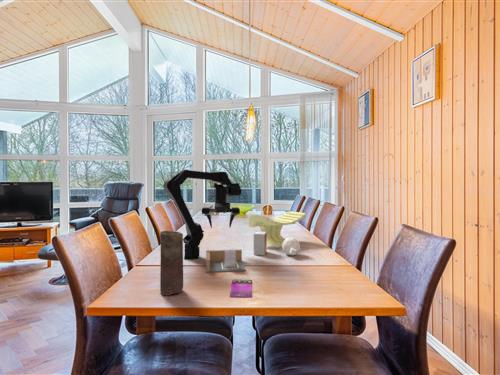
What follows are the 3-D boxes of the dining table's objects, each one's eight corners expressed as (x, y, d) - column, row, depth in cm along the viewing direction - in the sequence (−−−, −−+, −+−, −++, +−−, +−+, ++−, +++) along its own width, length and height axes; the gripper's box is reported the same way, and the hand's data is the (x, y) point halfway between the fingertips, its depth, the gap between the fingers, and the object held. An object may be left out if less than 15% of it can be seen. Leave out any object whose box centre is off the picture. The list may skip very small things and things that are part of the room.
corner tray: (205, 272, 117) (206, 260, 117) (206, 261, 133) (206, 250, 133) (245, 271, 120) (245, 258, 119) (241, 260, 135) (241, 249, 135)
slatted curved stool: (286, 238, 187) (287, 210, 186) (305, 243, 174) (305, 213, 174) (248, 244, 169) (248, 213, 169) (266, 249, 156) (266, 216, 156)
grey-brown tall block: (162, 287, 100) (163, 229, 100) (184, 287, 101) (184, 229, 101) (157, 296, 93) (157, 233, 92) (181, 296, 93) (181, 233, 93)
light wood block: (223, 262, 130) (223, 246, 129) (233, 262, 130) (234, 246, 130) (224, 268, 122) (224, 251, 122) (235, 267, 122) (235, 251, 122)
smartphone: (252, 282, 108) (252, 279, 108) (252, 298, 93) (252, 295, 93) (232, 282, 108) (232, 279, 108) (229, 298, 93) (229, 295, 93)
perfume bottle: (278, 248, 151) (281, 257, 139) (284, 232, 150) (288, 240, 138) (294, 253, 152) (298, 263, 140) (300, 237, 150) (305, 245, 139)
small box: (264, 255, 144) (264, 234, 144) (253, 255, 146) (253, 233, 145) (266, 251, 152) (267, 231, 152) (256, 251, 153) (256, 231, 153)
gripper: (201, 197, 138) (201, 230, 138) (241, 197, 140) (240, 230, 141) (202, 196, 149) (202, 227, 149) (238, 196, 151) (238, 226, 152)
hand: (220, 227), depth 148 cm, fingers open, 9 cm apart
